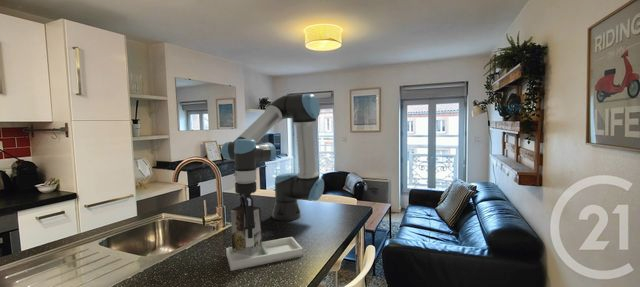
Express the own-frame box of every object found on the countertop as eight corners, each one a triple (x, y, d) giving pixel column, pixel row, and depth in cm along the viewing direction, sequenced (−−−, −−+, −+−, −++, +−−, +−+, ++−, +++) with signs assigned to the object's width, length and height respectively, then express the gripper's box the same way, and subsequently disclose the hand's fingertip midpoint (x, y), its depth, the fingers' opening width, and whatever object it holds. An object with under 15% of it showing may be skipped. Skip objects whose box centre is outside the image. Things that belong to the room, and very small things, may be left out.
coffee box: (262, 249, 110) (261, 207, 109) (251, 256, 104) (250, 211, 103) (242, 245, 113) (241, 204, 112) (231, 252, 108) (230, 208, 107)
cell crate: (226, 255, 112) (226, 248, 112) (292, 243, 123) (292, 236, 122) (230, 270, 100) (230, 262, 100) (302, 256, 111) (302, 248, 111)
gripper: (230, 177, 116) (232, 231, 117) (240, 188, 95) (241, 255, 96) (250, 175, 119) (251, 228, 120) (263, 186, 98) (264, 250, 99)
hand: (246, 240), depth 108 cm, fingers closed on coffee box, 11 cm apart
